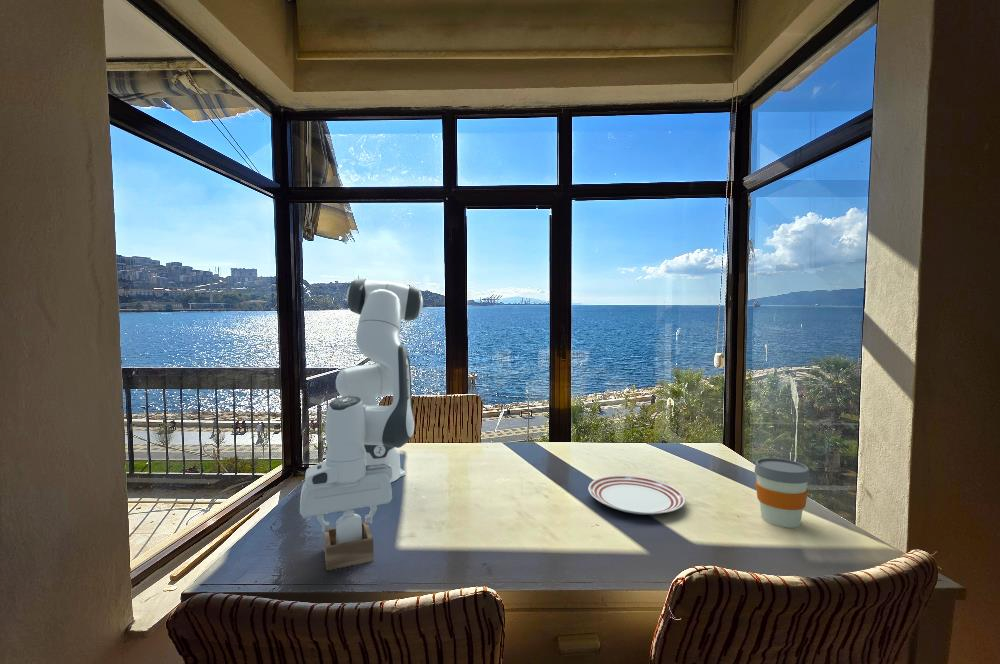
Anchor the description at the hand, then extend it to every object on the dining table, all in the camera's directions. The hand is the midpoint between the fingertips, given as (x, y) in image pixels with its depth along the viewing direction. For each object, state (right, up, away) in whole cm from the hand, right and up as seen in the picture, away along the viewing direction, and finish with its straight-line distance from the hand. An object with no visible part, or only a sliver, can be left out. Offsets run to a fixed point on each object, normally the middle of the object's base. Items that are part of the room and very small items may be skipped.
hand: (347, 527), depth 107 cm
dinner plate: (+75, -5, +30) cm, 81 cm away
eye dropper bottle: (0, -6, 0) cm, 6 cm away
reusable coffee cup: (+111, -5, +17) cm, 112 cm away
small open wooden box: (0, -7, 0) cm, 7 cm away
